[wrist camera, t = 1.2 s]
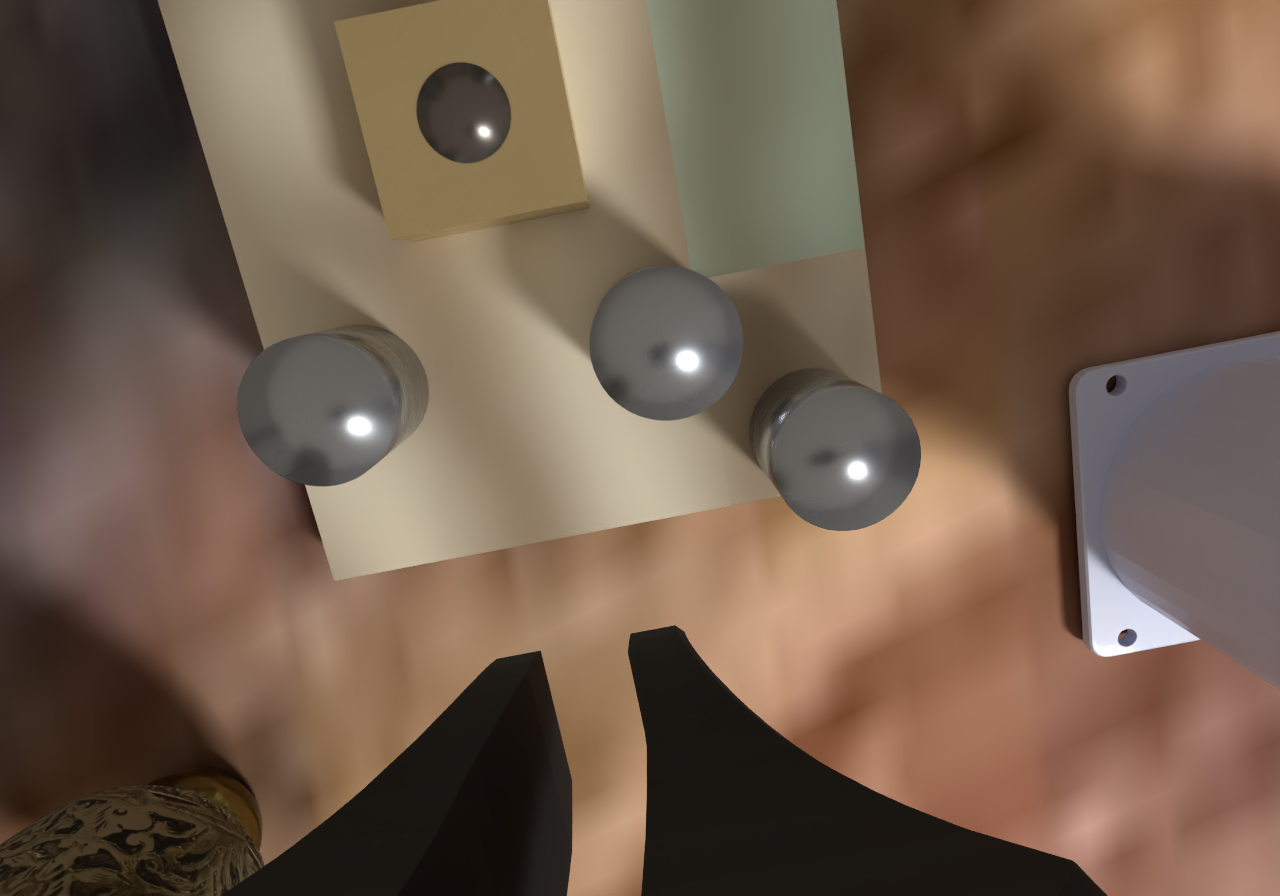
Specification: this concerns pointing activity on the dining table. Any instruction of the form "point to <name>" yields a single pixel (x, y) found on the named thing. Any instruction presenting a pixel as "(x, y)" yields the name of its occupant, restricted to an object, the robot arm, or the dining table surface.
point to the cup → (140, 841)
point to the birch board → (547, 258)
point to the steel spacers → (630, 374)
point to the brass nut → (464, 115)
